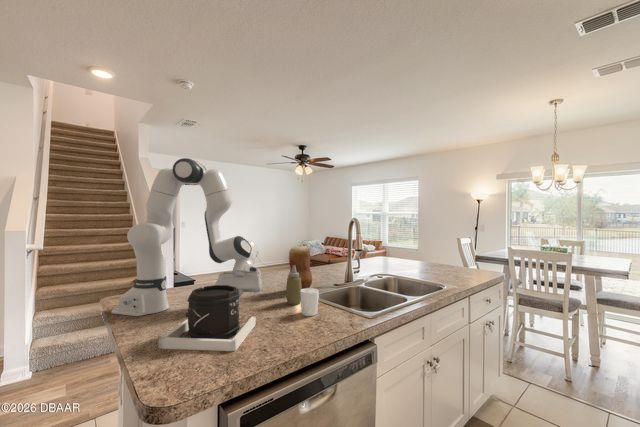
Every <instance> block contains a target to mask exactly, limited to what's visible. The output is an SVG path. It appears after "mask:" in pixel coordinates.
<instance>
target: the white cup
mask: <svg viewBox="0 0 640 427" xmlns="http://www.w3.org/2000/svg"><path fill="white" fill-rule="evenodd" d="M300 292H301V302H300V307H301V314H302V316H305V317H312V316H313V317H314V316H317V315H318V310H319V308H318V307H319V296H320V294H319V293H320V292H319V289H317V288H314V287H309V288H305V289H301V290H300Z"/></svg>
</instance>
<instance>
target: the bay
mask: <svg viewBox="0 0 640 427" xmlns="http://www.w3.org/2000/svg"><path fill="white" fill-rule="evenodd" d="M256 318H257V317H256V316H251V317H250V318H249V319H248V321H247V322H245V324H244V325H243V326H242V328H241V329H239V330H238V331H237V333H236V335H235V336H233V337H232V339H231V338H230V339H202V338H190V337H181V336H182V335H183V334H184V333H186V332H188V330H189V327H188V318H187V319H185V320H184V321H183V322H181V323H180V324H178V325H177V326H175V327H174V328H172V329H171V330H169V331H168V332H166V333H165V334H164V335H163V336H161V337H160V338H159V339H158V349H159V350H160V349H161V350H163V349H164V350H189V351H190V350H192V351H193V350H194V351H217V352H218V351H221V352H236V351H237V350H238V348H239V347H240V346H241V344H242V343H243V341H244V340H245V339H246V338H247V337H248V335H249V334H250V333H251V331H252V330H253V328H254V327H255V326H256V324H257V323H256V322H257V319H256Z"/></svg>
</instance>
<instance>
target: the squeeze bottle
mask: <svg viewBox="0 0 640 427" xmlns="http://www.w3.org/2000/svg"><path fill="white" fill-rule="evenodd" d="M288 275H289V278H288V277H287V278H288V279H287V278H286V285H285V286H286V287H285V299H286V301H287V304H289V305H291V306H292V305H295V306H296V305H299V304H301V292H300V290H301V289H302V286H301V278H300V277H299V273H297V271H296V267H295V265H293V267H292V272H291V273H289V272H288Z"/></svg>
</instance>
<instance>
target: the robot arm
mask: <svg viewBox="0 0 640 427" xmlns="http://www.w3.org/2000/svg"><path fill="white" fill-rule="evenodd" d="M223 174H224V173H222V171H220V170H218V169H214V168H213V169H206V167H205V166H204V165H203V164H202V163H200V162H199V161H197V160H194V159H192V158H188V157H187V158H186V157H184V158H183V157H182V158H180V159H178V160H176V161H175V162H174V164H173V166H172V168H168V167H167V168H166V167H165V168H161V169H160V170H159V171H158V173H157V174H156V176H155V178H154V180H153V183H152V184H151V188H150V191H149V194H148V198H147V201H146V204H145V209H146V221H145V222H139V223H138V224H135V225H133V226H132V227H130V229H128V231H127V233H126V235H127V236H126V237H127V241H128V243H129V244H130V245H131V246H132V248H133V252H134V255H135V259H136V278H135V279H133V280H131V281H130V282H131V283H130V284H132V285H133V286H132V287H131V288H130V289H129V290H128V291H126V292H124V293H123V294H122V295H121V296H120V297H119V299H118V303H117V306H116V307H114V308H113V309H112V310H111V313H110V314H114V315H115V314H117V315H124V316H133V317H142V316H144V315H145V316H146V315H150V314H151V315H152V314H156V313H160V312H163V311H166V310H168V309H169V308H170V304H169V300H168V296H167V276H166V258H165V256H164V255H163V252H162V248H161V245H163V244H165V243H166V242H168V241H169V240H170V238H171V237H172V235H173V231H172V230H173V229H172V222H173V221H172V220H173V212H174V210H175V207H176V203H177V199H178V196H179V193H180V190H181V188H182V186H184V185H185V186H200V187H201V188H202V191H203V194H204V197H205V201H206V206H205V207H206V208H205V211H204V222H205V229H206V235H207V241H208V254H209V257H210V259H211V260H212V261H214V262H215V263H217V264H222V263H225V262H228V261H231V260H234V261H235V263H234V264H233V267H232V271H229V272H228V271H223V272H221V273H220V274H219V275H218V277H217V280H216V282H215V284H214V285H229V286H233V287H236V288H237V291H239V298H238V301H239V300H240V298H241V297H242V296H243V294H244V293H260V292H261V291H262V288H263V287H262V285H263V280H262V273H261V270H260V268H257V267H254V264H255V263H256V260H257V255H258V254H257V252H258V251H257V250H258V249H257V245H256V243H255V242H253V241H252V240H247V239H245V238H244V237H243V236H240V235H237V236H232V237H229V238H227V239H223V240H222V237H221V232H220V231H221V230H220V223H219V222H220V219H221V218H222V216H223V215H224V214H225V213H227V212H228V211H229V210H230V208H231V206H232V205H233V204H232V203H233V197H232V194H231V190H230V187H229V184H228V182H227V179H226V178H225V176H224V175H223Z"/></svg>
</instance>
